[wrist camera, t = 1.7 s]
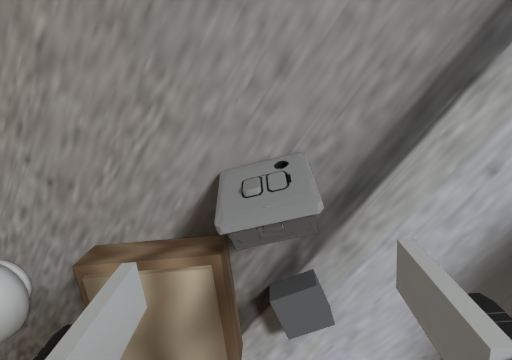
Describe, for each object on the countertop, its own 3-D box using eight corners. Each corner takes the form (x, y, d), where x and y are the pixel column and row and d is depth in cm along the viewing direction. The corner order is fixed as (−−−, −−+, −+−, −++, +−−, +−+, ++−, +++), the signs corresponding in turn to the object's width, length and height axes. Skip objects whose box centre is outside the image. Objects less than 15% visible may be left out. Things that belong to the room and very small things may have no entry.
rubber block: (312, 268, 33) (316, 285, 31) (329, 304, 35) (334, 324, 32) (269, 283, 34) (269, 301, 31) (287, 318, 35) (288, 339, 33)
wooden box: (225, 234, 32) (219, 258, 28) (242, 344, 36) (239, 380, 32) (95, 245, 33) (68, 270, 29) (125, 351, 37) (106, 387, 33)
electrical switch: (304, 149, 30) (320, 184, 22) (313, 192, 31) (331, 239, 24) (219, 170, 30) (206, 210, 23) (233, 211, 32) (224, 261, 25)
